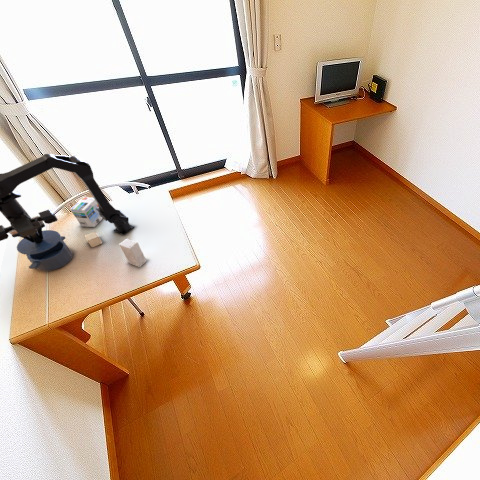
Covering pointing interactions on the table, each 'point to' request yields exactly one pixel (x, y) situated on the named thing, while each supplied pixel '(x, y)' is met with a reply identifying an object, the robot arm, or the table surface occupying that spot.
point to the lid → (39, 242)
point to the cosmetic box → (132, 252)
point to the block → (93, 239)
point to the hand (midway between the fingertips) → (38, 240)
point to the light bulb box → (87, 212)
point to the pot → (51, 257)
